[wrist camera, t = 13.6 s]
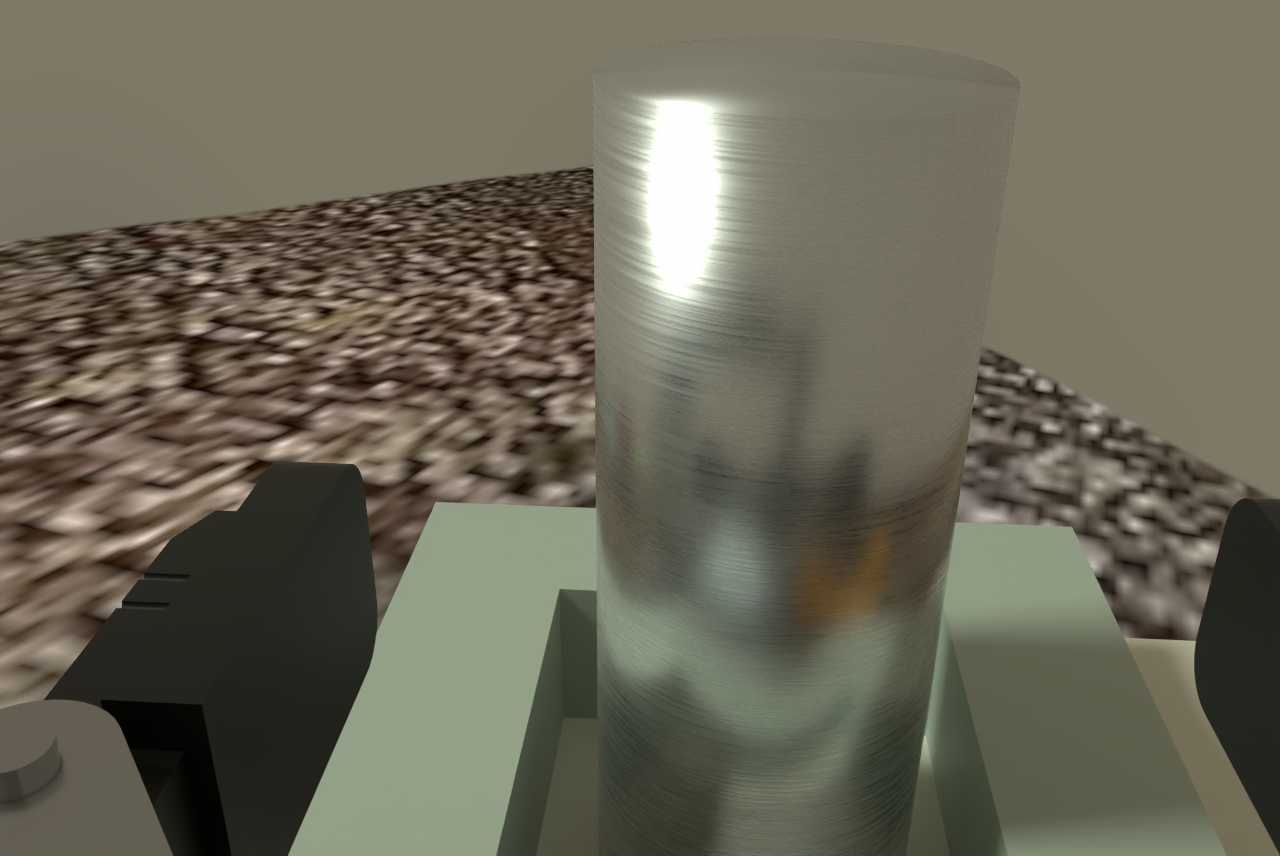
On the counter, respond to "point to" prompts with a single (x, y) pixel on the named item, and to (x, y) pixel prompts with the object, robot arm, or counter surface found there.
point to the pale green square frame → (953, 738)
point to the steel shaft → (781, 428)
